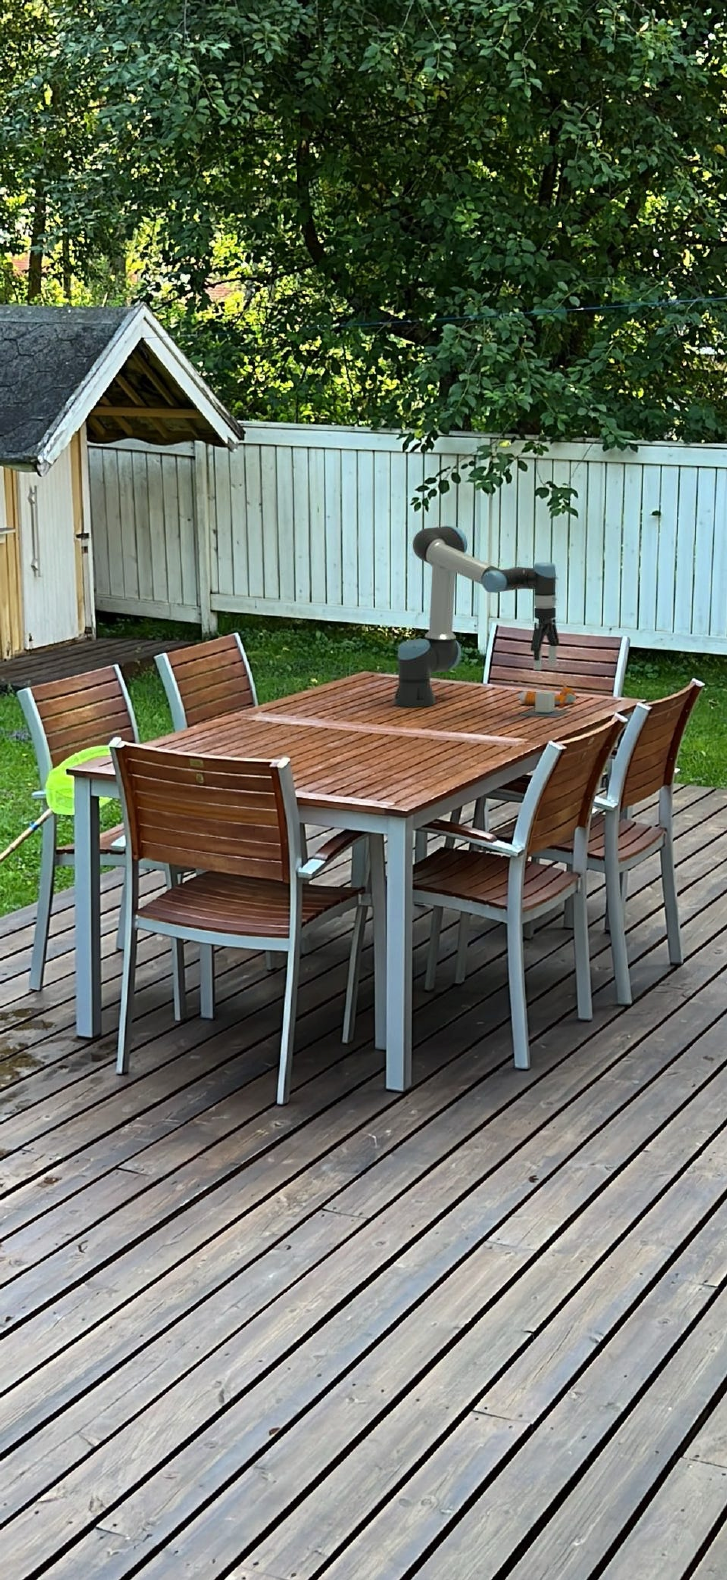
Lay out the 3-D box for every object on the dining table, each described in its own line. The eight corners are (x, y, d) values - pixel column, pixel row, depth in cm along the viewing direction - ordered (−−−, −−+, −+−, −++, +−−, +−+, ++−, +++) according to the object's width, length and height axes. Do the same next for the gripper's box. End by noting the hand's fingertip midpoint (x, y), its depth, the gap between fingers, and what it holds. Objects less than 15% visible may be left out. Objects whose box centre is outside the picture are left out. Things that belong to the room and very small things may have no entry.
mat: (519, 715, 636) (519, 714, 636) (534, 709, 648) (534, 708, 648) (555, 717, 629) (555, 717, 629) (570, 711, 641) (570, 710, 641)
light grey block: (535, 711, 637) (535, 693, 636) (541, 709, 642) (541, 690, 641) (548, 712, 635) (548, 693, 634) (554, 710, 640) (554, 691, 638)
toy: (576, 695, 647) (578, 681, 660) (514, 694, 651) (517, 680, 664) (576, 716, 650) (578, 701, 664) (514, 715, 654) (518, 701, 667)
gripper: (541, 611, 618) (541, 672, 623) (568, 603, 640) (568, 662, 644) (521, 610, 622) (521, 671, 626) (548, 602, 643) (548, 661, 648)
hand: (545, 667), depth 635 cm, fingers open, 13 cm apart
